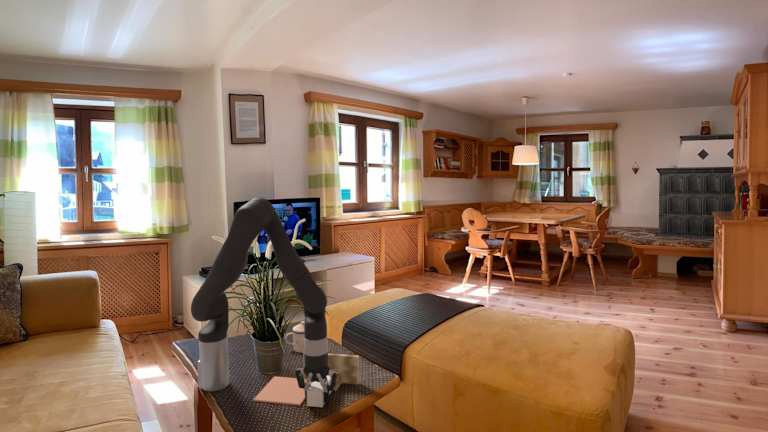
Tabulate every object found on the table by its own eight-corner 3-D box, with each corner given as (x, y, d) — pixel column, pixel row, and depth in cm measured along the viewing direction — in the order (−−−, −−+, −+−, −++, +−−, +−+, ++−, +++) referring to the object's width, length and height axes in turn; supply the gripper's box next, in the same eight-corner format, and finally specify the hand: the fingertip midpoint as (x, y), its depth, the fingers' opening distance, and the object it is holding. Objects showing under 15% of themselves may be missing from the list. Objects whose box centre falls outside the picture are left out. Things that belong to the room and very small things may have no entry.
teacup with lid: (314, 343, 188) (314, 317, 187) (315, 352, 180) (314, 324, 178) (286, 345, 186) (285, 319, 185) (285, 354, 177) (284, 327, 176)
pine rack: (297, 388, 151) (296, 360, 149) (305, 378, 158) (304, 351, 157) (354, 393, 147) (353, 364, 146) (359, 382, 154) (358, 355, 153)
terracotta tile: (253, 401, 142) (253, 399, 142) (274, 377, 158) (274, 376, 158) (300, 405, 139) (300, 404, 139) (316, 381, 155) (316, 380, 155)
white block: (307, 405, 138) (306, 390, 138) (318, 388, 149) (317, 374, 149) (322, 407, 138) (322, 392, 137) (332, 389, 148) (332, 375, 148)
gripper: (290, 353, 136) (291, 405, 138) (334, 356, 134) (335, 409, 135) (298, 343, 143) (300, 393, 145) (341, 346, 141) (342, 396, 143)
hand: (317, 400), depth 140 cm, fingers closed on white block, 5 cm apart
